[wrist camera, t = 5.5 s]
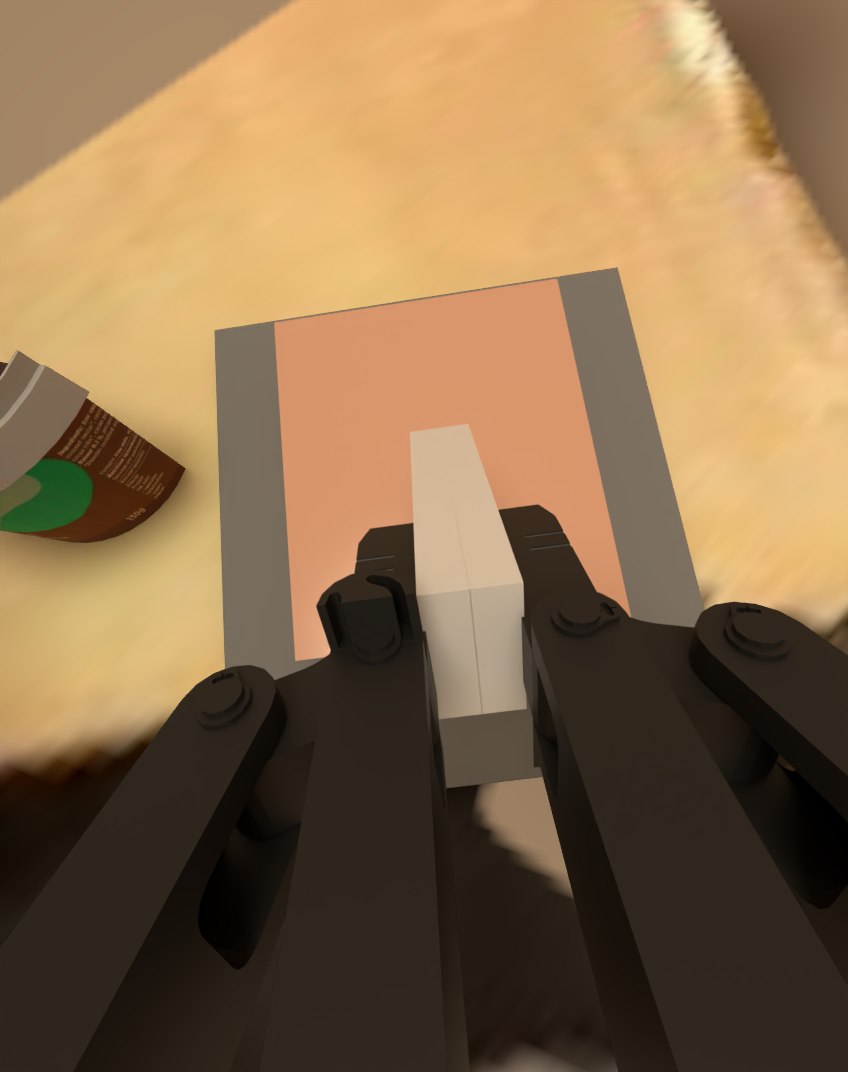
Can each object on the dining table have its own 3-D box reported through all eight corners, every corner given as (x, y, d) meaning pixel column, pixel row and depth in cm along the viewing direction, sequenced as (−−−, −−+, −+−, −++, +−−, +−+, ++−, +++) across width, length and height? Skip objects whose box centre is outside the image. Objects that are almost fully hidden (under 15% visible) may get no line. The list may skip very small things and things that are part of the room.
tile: (295, 661, 17) (274, 322, 20) (318, 657, 20) (296, 362, 23) (631, 617, 17) (557, 278, 20) (605, 621, 20) (544, 324, 23)
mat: (238, 806, 20) (229, 813, 19) (222, 340, 25) (214, 330, 24) (729, 749, 19) (740, 753, 18) (612, 279, 24) (617, 267, 23)
